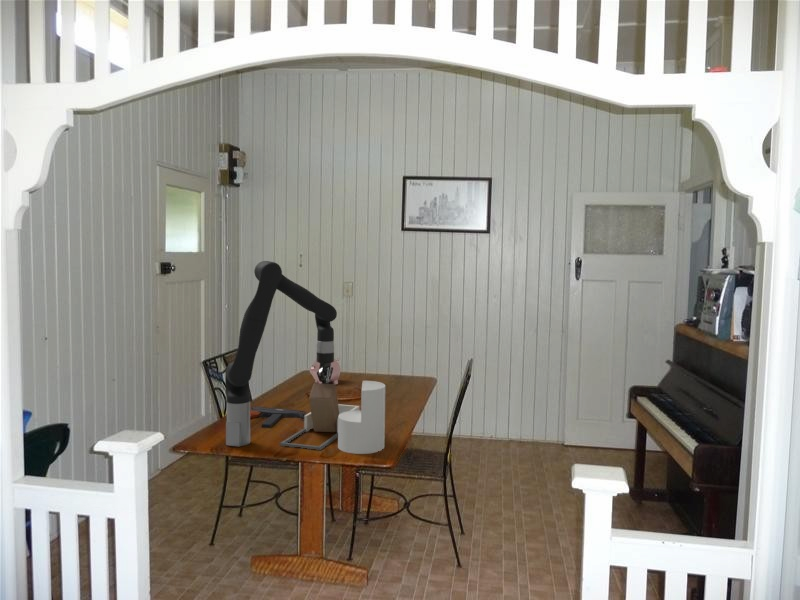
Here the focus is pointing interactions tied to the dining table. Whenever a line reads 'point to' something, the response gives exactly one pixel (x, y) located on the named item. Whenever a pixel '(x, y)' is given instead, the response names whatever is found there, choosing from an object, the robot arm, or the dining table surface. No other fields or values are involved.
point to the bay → (285, 443)
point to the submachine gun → (274, 414)
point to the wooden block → (324, 407)
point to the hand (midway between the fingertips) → (324, 390)
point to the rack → (342, 408)
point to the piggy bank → (334, 374)
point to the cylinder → (364, 422)
